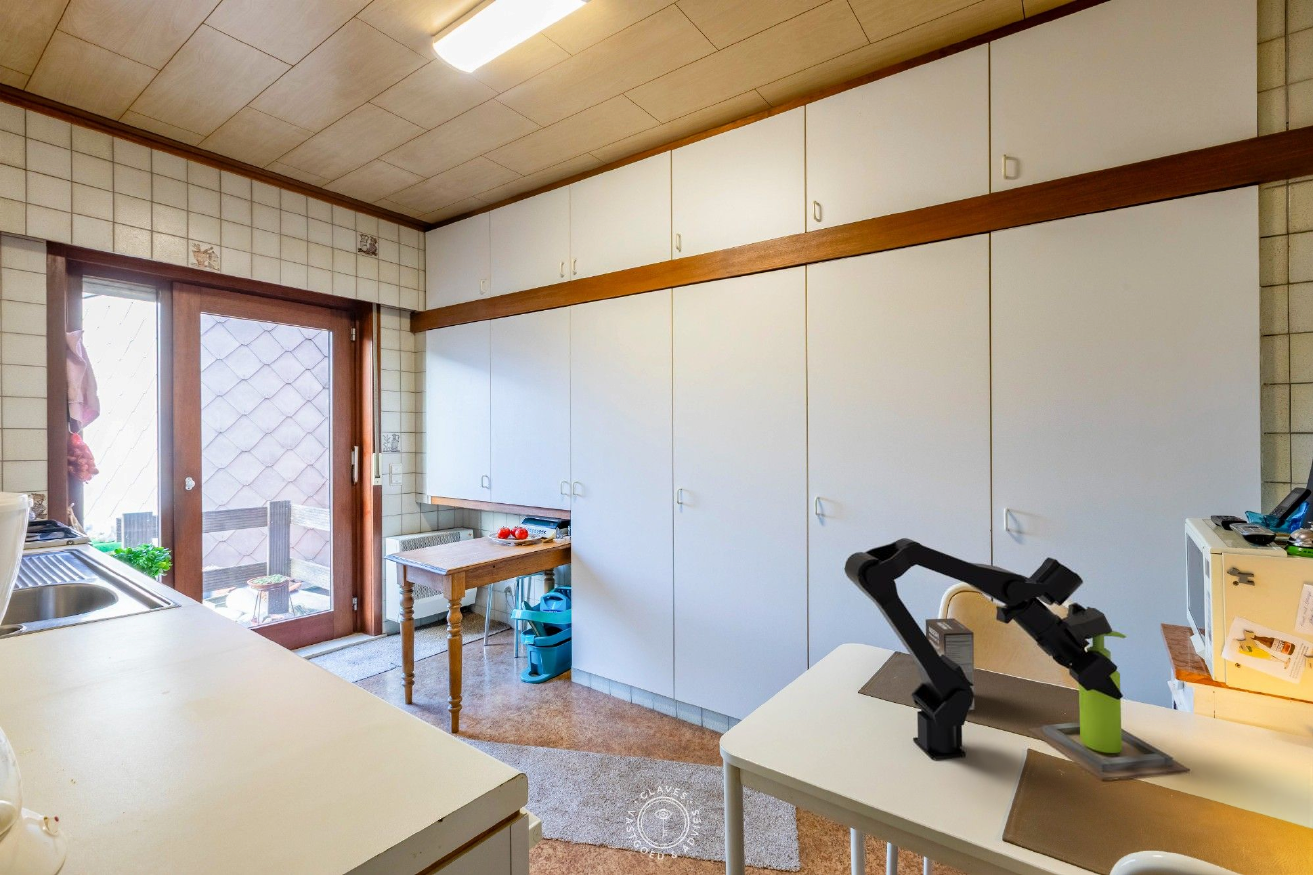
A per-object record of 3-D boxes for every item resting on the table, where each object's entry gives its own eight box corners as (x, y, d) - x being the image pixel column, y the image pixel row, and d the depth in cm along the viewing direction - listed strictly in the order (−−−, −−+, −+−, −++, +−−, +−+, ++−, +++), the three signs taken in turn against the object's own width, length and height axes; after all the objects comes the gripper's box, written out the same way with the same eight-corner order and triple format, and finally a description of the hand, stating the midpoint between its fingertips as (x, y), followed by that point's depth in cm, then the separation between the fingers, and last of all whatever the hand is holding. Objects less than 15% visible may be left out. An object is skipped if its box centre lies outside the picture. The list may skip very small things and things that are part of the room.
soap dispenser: (1136, 755, 102) (1133, 637, 102) (1090, 751, 103) (1087, 634, 103) (1116, 738, 107) (1114, 626, 108) (1073, 735, 109) (1071, 624, 109)
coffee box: (925, 691, 130) (923, 618, 130) (954, 690, 130) (953, 617, 130) (944, 711, 121) (943, 632, 121) (976, 710, 121) (975, 631, 121)
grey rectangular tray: (1101, 780, 97) (1101, 770, 97) (1029, 731, 113) (1029, 722, 113) (1190, 771, 98) (1189, 761, 98) (1106, 724, 114) (1106, 715, 114)
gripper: (1102, 609, 97) (1182, 683, 95) (1055, 580, 115) (1121, 641, 113) (1048, 654, 99) (1125, 727, 96) (1009, 618, 117) (1073, 679, 115)
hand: (1111, 690), depth 105 cm, fingers closed on soap dispenser, 6 cm apart
